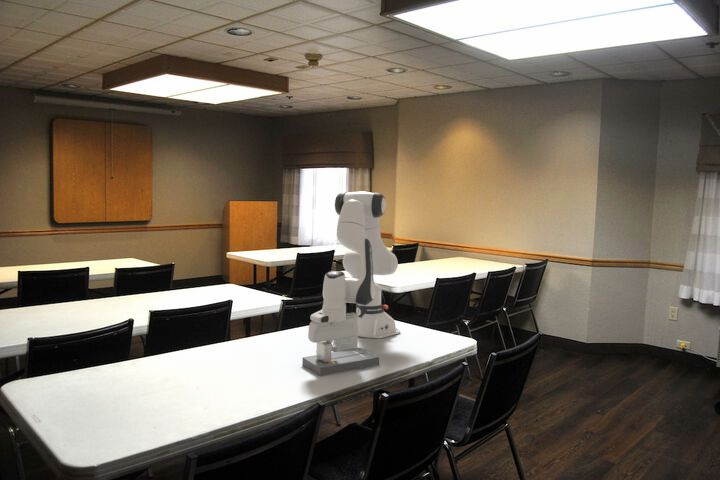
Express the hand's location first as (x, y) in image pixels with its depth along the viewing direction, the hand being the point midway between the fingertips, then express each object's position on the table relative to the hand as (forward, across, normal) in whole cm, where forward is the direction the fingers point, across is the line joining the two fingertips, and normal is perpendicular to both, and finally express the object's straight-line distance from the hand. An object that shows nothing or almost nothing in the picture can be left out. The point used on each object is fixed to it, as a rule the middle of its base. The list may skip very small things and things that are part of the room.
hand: (333, 350), depth 205 cm
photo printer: (+6, -14, -15) cm, 22 cm away
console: (+6, -4, 0) cm, 7 cm away
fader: (+3, +4, 0) cm, 5 cm away
